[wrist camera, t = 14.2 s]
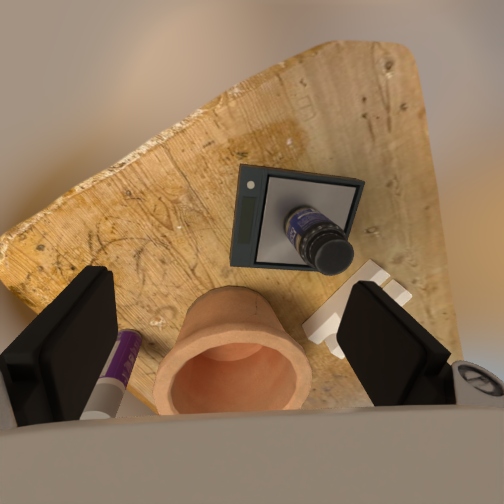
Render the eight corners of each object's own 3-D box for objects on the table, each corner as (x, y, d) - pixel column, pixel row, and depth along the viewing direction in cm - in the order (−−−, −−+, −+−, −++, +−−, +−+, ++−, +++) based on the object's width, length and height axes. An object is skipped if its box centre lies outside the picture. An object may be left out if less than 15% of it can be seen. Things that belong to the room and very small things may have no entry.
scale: (229, 258, 43) (230, 267, 40) (239, 163, 37) (241, 166, 34) (330, 264, 46) (338, 273, 43) (355, 178, 40) (366, 181, 37)
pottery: (143, 314, 45) (114, 387, 32) (250, 249, 43) (266, 300, 30) (213, 381, 54) (213, 459, 41) (305, 331, 52) (336, 397, 39)
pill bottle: (277, 219, 38) (299, 250, 28) (313, 198, 38) (349, 221, 28) (295, 251, 41) (321, 290, 31) (329, 231, 40) (367, 264, 30)
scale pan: (255, 259, 41) (256, 261, 41) (268, 176, 36) (269, 176, 35) (331, 264, 44) (333, 266, 43) (353, 186, 38) (356, 187, 38)
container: (148, 339, 48) (121, 421, 34) (129, 352, 48) (96, 438, 35) (127, 324, 46) (91, 405, 32) (108, 338, 46) (65, 423, 33)
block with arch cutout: (333, 345, 55) (360, 393, 45) (301, 325, 51) (322, 371, 41) (400, 285, 50) (446, 323, 40) (369, 258, 47) (412, 292, 37)
